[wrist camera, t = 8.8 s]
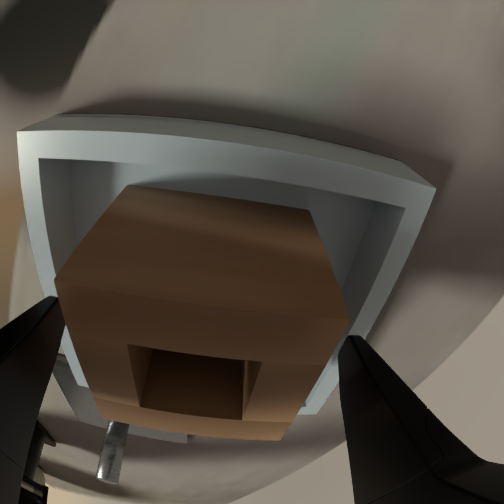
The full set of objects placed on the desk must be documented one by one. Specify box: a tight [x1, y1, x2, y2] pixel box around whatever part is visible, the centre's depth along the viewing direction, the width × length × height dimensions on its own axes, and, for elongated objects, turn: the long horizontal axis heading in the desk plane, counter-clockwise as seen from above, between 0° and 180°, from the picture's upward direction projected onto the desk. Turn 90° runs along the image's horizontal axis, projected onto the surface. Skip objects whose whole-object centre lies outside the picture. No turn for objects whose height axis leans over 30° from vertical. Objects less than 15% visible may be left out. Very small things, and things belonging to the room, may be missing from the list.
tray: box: [17, 114, 436, 414], centre depth 11 cm, size 12×12×2 cm
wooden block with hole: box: [54, 185, 350, 440], centre depth 10 cm, size 8×6×5 cm
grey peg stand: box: [52, 355, 188, 485], centre depth 16 cm, size 9×9×6 cm
